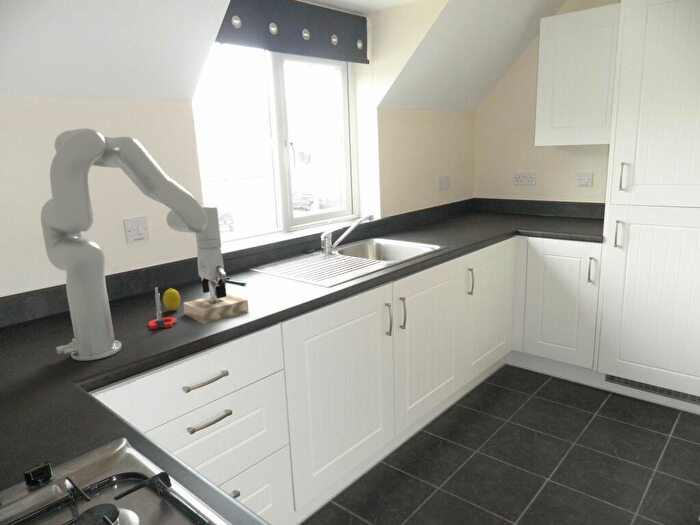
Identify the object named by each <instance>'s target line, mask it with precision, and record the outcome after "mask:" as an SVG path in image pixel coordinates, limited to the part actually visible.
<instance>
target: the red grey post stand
mask: <svg viewBox="0 0 700 525" xmlns="http://www.w3.org/2000/svg"><path fill="white" fill-rule="evenodd" d="M154 292H155V294H154V298H155V299H154V300H155V305H156V318H155V319H153V320H149V322H147V323H148V326H149V330H160V329H168V328H173V325H174V324H176V323H177V322H178V320H177V318H176V317H169V316H168V317H163V311H162V307H161V300H160V299H161V298H160V293H159V289H158V286H157V287H154Z"/></svg>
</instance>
